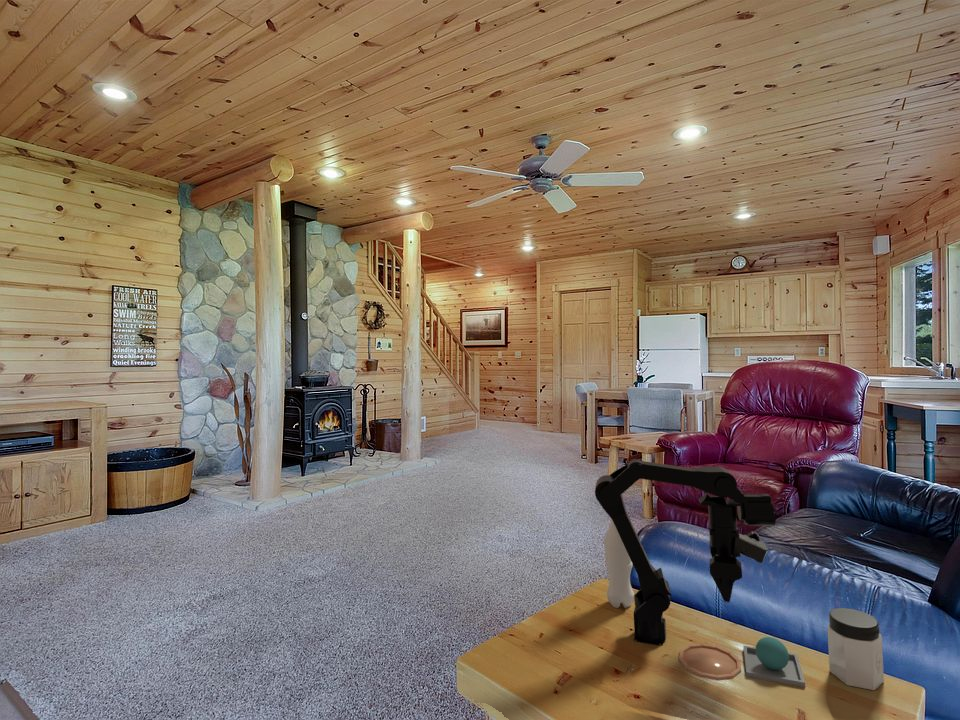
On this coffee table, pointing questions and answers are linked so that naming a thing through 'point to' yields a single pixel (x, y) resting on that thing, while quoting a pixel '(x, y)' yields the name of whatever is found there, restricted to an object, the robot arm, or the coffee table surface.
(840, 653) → the jar
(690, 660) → the dish
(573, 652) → the coffee table surface
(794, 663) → the tray
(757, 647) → the ball
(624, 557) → the water bottle
